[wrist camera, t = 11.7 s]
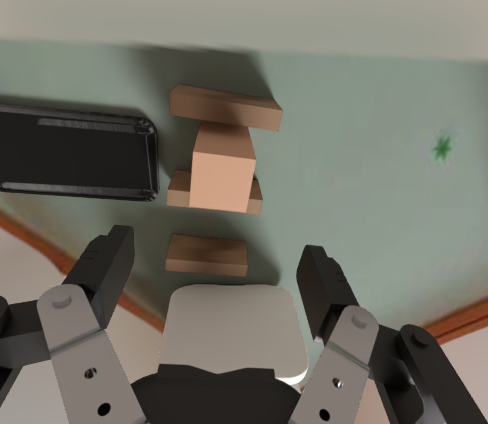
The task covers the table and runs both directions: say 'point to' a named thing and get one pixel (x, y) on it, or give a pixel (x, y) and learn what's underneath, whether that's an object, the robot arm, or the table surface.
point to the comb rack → (178, 194)
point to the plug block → (222, 167)
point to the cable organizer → (235, 330)
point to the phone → (77, 154)
